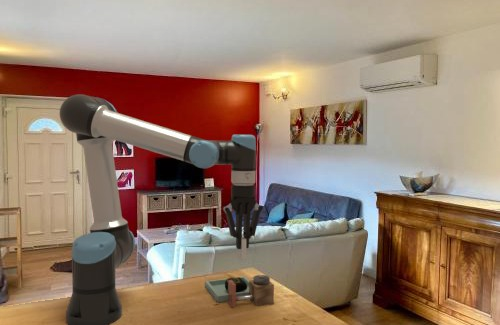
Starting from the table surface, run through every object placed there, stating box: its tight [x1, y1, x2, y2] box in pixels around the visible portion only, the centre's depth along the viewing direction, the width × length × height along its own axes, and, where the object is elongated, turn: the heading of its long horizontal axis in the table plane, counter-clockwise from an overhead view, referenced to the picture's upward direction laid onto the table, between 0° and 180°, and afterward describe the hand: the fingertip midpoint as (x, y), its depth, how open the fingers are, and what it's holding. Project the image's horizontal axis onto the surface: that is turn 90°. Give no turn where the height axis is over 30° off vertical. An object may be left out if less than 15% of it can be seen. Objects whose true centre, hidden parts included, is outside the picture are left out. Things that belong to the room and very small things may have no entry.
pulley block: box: [248, 274, 275, 307], centre depth 133 cm, size 6×6×8 cm
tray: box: [204, 276, 251, 304], centre depth 142 cm, size 15×15×2 cm
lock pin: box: [227, 280, 254, 308], centre depth 132 cm, size 14×4×7 cm, turn 112°
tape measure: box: [225, 276, 247, 292], centre depth 141 cm, size 7×7×4 cm
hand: (242, 258), depth 131 cm, fingers closed
